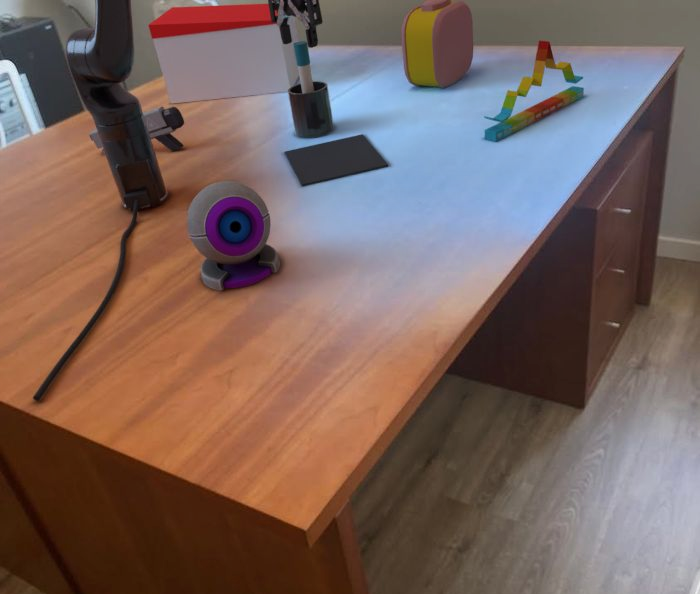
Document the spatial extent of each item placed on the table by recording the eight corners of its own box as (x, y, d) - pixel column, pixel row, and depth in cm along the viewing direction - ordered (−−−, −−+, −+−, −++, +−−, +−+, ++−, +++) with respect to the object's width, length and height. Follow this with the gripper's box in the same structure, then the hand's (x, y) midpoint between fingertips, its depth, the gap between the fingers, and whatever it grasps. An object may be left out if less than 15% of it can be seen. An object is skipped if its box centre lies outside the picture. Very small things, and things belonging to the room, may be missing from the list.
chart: (496, 141, 149) (495, 66, 140) (484, 138, 151) (482, 64, 142) (584, 96, 163) (588, 25, 154) (572, 94, 165) (575, 24, 156)
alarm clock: (440, 69, 195) (435, -10, 184) (476, 71, 189) (474, -10, 178) (403, 91, 184) (396, 9, 172) (441, 94, 178) (436, 9, 166)
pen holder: (337, 132, 166) (331, 88, 160) (299, 141, 165) (291, 97, 159) (329, 121, 173) (322, 78, 167) (292, 129, 172) (284, 86, 166)
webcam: (213, 299, 113) (187, 211, 104) (194, 265, 123) (169, 182, 114) (290, 273, 116) (271, 186, 107) (265, 242, 126) (247, 160, 117)
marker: (321, 128, 168) (308, 42, 156) (309, 131, 167) (294, 45, 156) (319, 125, 170) (305, 40, 159) (306, 127, 170) (292, 42, 158)
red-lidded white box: (190, 81, 219) (171, 7, 207) (302, 69, 214) (290, -8, 201) (169, 103, 203) (147, 24, 191) (290, 91, 197) (275, 9, 185)
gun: (192, 145, 168) (172, 104, 163) (108, 172, 178) (86, 134, 173) (197, 141, 170) (177, 100, 165) (113, 168, 180) (92, 130, 175)
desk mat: (388, 166, 146) (388, 164, 146) (302, 186, 144) (301, 184, 144) (362, 135, 162) (362, 134, 162) (284, 153, 160) (284, 151, 160)
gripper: (250, -34, 151) (266, 47, 160) (295, -33, 142) (309, 52, 151) (278, -42, 155) (292, 38, 164) (322, -42, 146) (334, 42, 155)
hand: (300, 45), depth 158 cm, fingers open, 8 cm apart
